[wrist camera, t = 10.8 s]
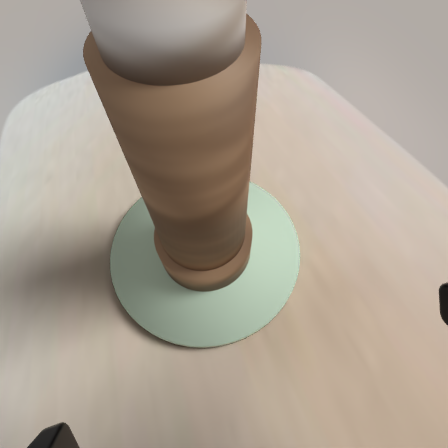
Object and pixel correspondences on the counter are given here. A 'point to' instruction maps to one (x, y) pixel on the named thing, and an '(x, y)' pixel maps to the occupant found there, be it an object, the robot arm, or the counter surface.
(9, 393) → the counter surface
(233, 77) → the pepper mill
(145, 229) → the rubber mat
